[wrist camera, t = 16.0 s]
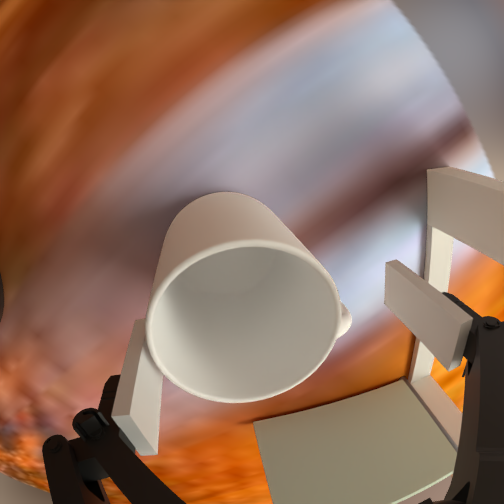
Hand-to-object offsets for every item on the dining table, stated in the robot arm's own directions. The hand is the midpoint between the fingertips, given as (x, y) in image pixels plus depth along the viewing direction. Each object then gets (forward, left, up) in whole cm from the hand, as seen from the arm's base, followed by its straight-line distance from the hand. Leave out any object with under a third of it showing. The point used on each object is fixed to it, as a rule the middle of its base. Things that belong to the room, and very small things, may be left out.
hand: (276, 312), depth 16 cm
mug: (0, 0, -8) cm, 8 cm away
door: (+20, +6, -8) cm, 23 cm away
